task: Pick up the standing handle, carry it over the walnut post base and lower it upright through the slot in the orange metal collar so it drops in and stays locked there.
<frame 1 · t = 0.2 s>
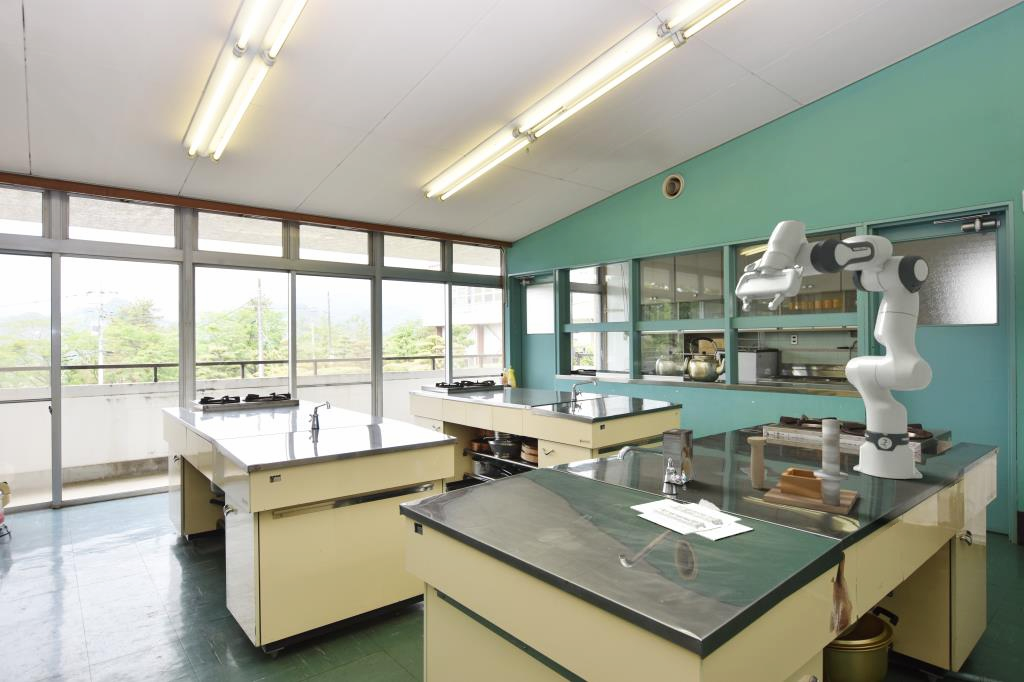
hand: (758, 309, 159), 54 cm above the table, tool tilted 30°, fingers open, 8 cm apart
rosette stand: (811, 498, 153), on the table
stacked white papers: (688, 521, 138), on the table
coffee box: (678, 481, 174), on the table
handle: (757, 488, 165), on the table
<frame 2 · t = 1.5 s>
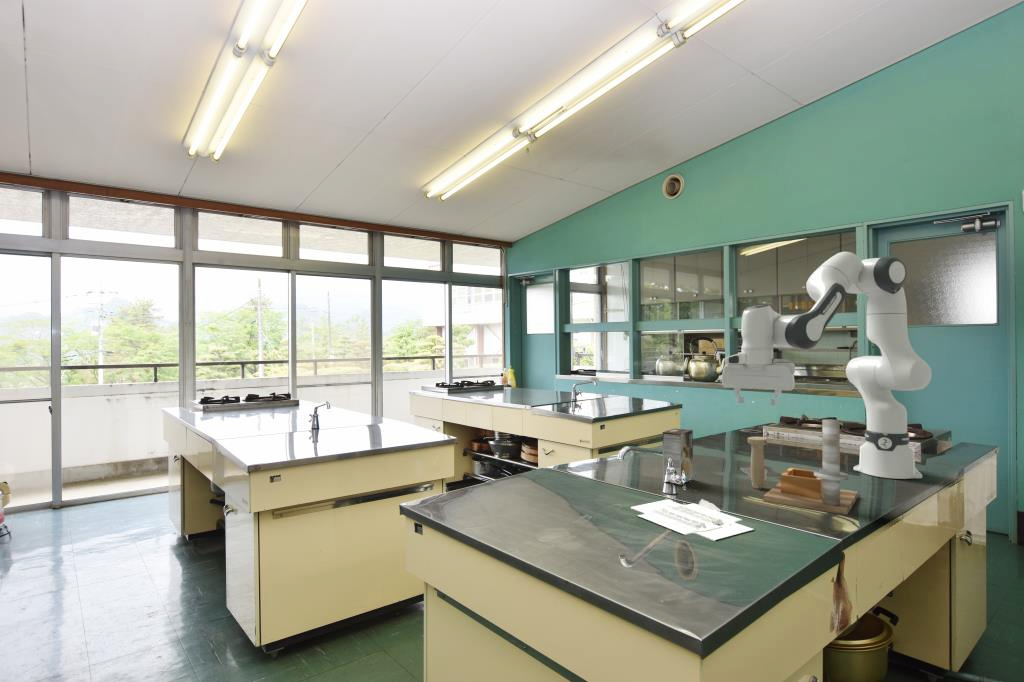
hand: (757, 404, 165), 25 cm above the table, tool pointing down, fingers open, 8 cm apart
nothing on the table moved.
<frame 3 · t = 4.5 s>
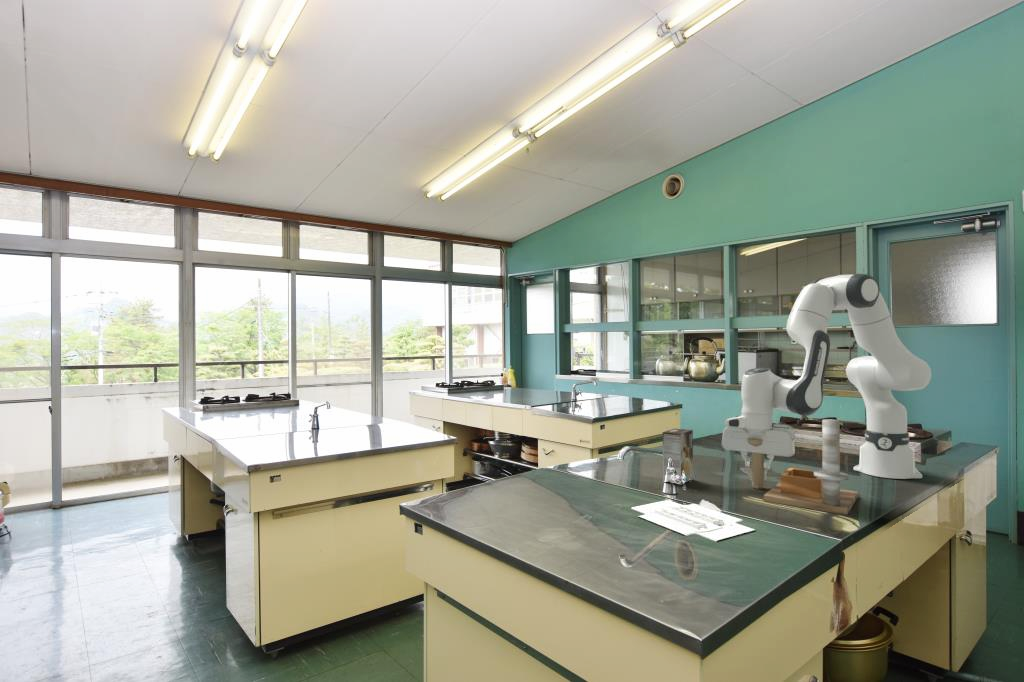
hand: (757, 467, 165), 6 cm above the table, tool pointing down, fingers closed on handle, 4 cm apart
handle: (757, 488, 165), on the table, touching gripper
everything else where it was.
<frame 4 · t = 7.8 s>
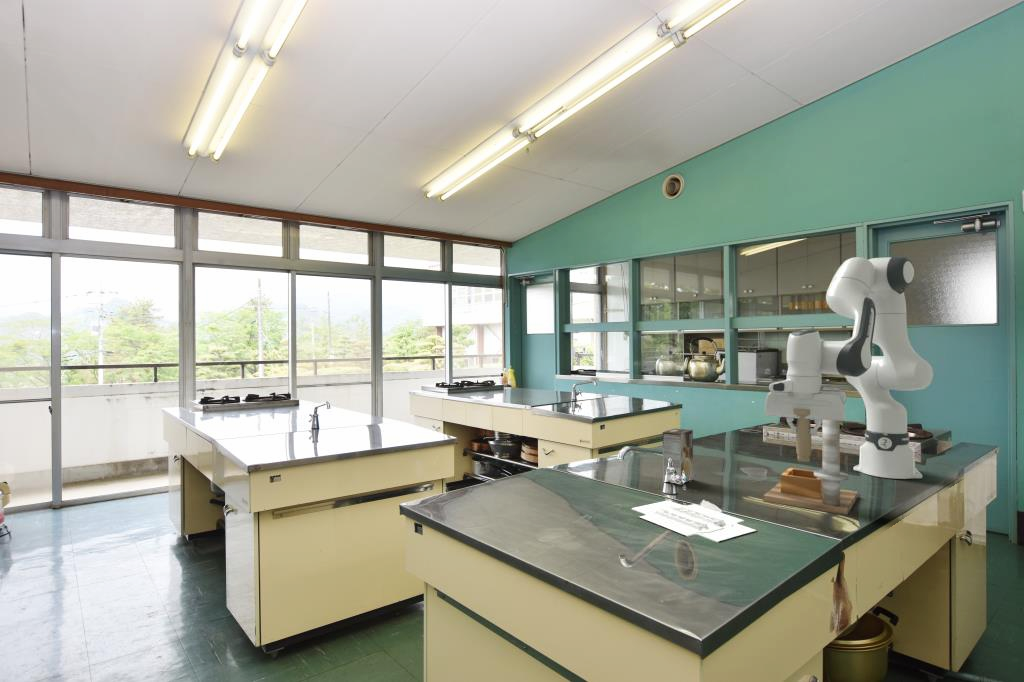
hand: (803, 434, 156), 18 cm above the table, tool pointing down, fingers closed on handle, 3 cm apart
handle: (803, 462, 156), point 10 cm above the table, touching gripper
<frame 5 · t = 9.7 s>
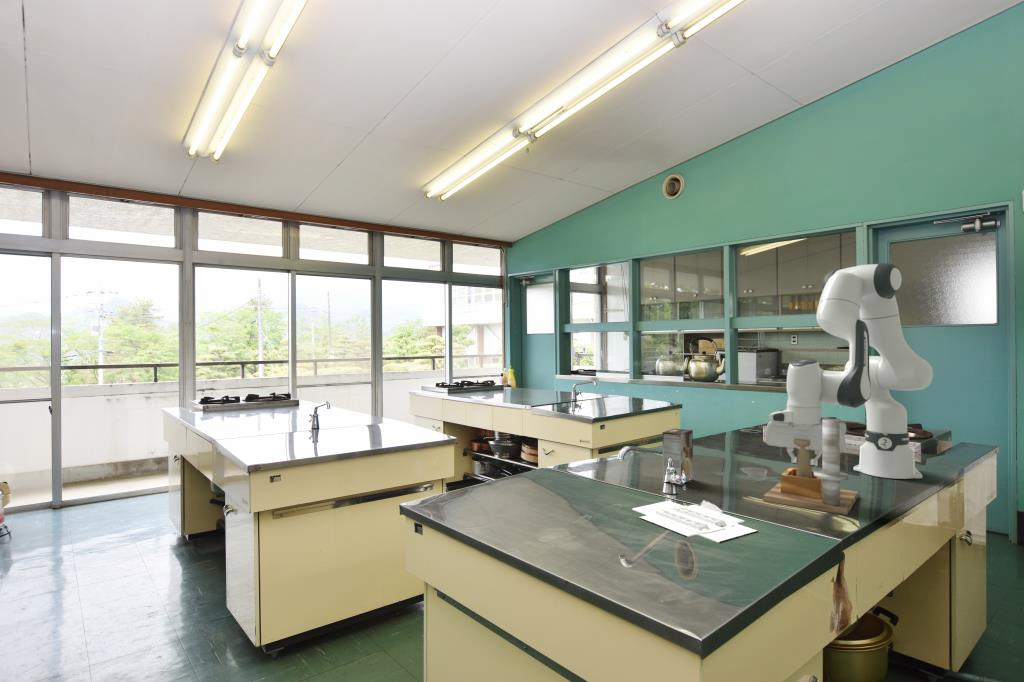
hand: (804, 464, 156), 9 cm above the table, tool pointing down, fingers closed on handle, 3 cm apart
handle: (804, 491, 156), point 1 cm above the table, touching gripper, rosette stand
when the fingers open (9 cm above the table, at t = 10.1 s): handle stays where it is, resting on rosette stand.
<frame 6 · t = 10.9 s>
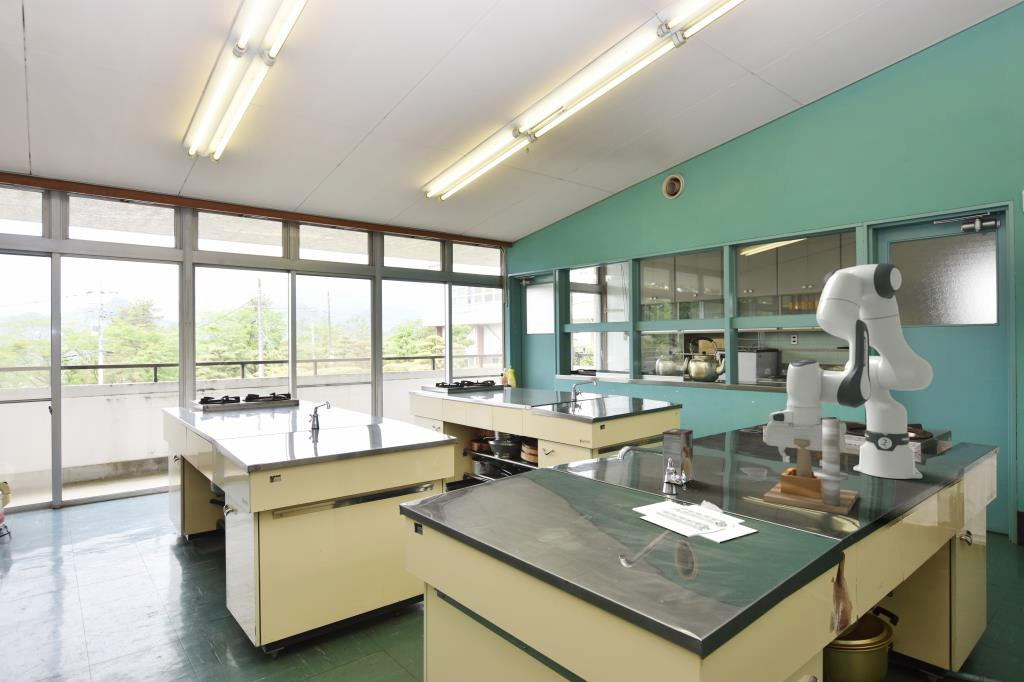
hand: (804, 464, 156), 9 cm above the table, tool pointing down, fingers open, 8 cm apart
handle: (804, 491, 156), point 1 cm above the table, touching rosette stand
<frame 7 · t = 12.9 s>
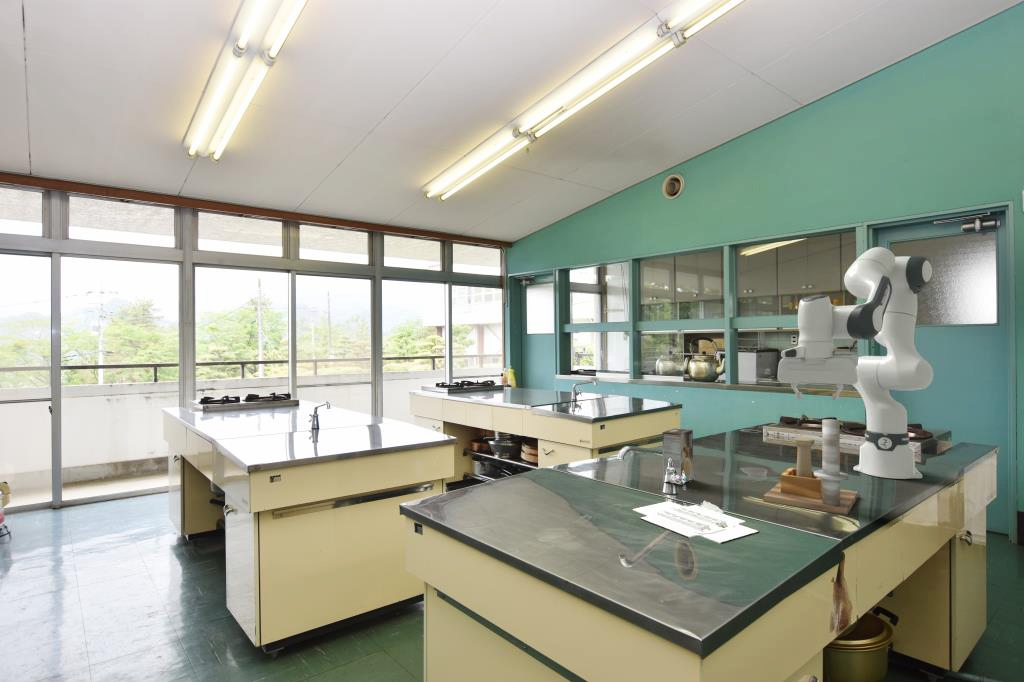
hand: (817, 399, 158), 28 cm above the table, tool pointing down, fingers open, 8 cm apart
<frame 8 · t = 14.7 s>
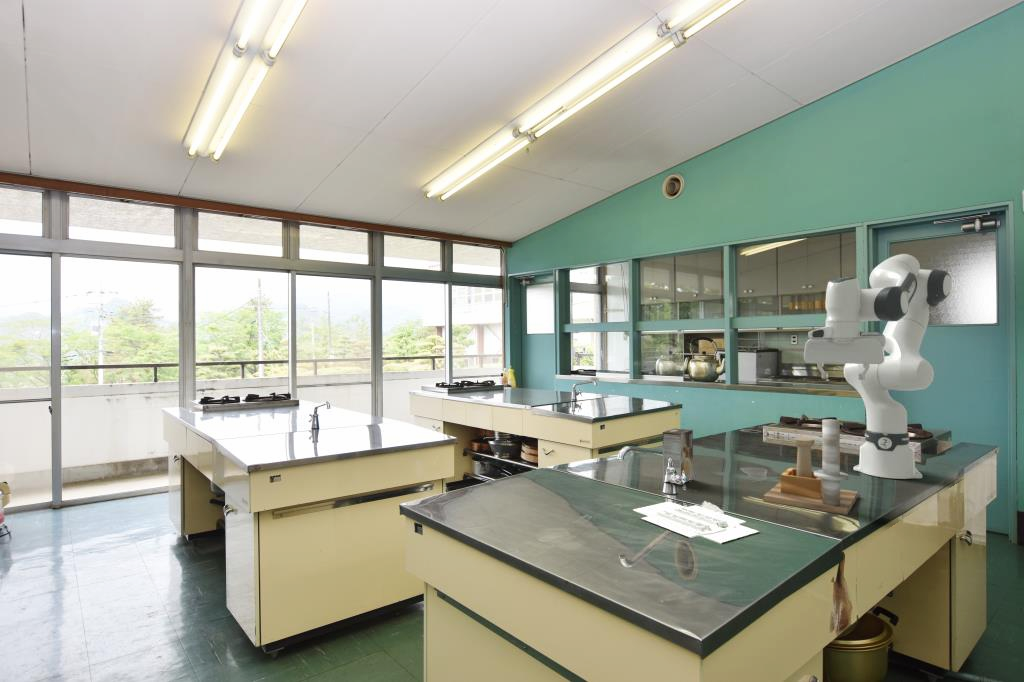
hand: (842, 379, 160), 33 cm above the table, tool pointing down, fingers open, 8 cm apart
at the end: handle 0.1 cm from the target spot on the rosette stand, point 1.3 cm above the rosette stand's base; handle tilted 0°; the gripper is holding nothing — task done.
